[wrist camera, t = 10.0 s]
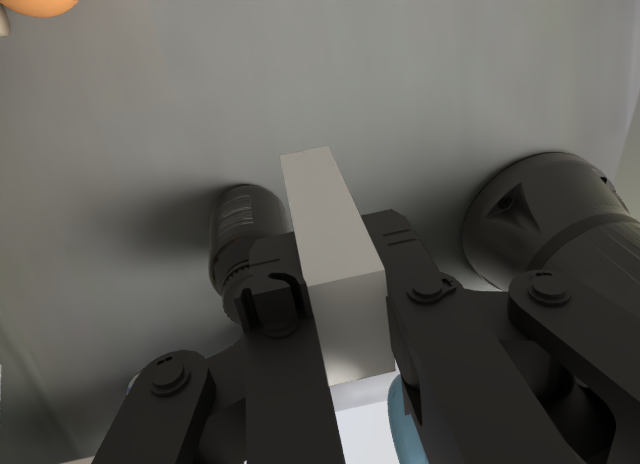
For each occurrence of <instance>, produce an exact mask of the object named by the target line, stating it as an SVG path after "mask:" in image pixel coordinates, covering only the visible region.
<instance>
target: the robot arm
mask: <svg viewBox="0 0 640 464" xmlns="http://www.w3.org/2000/svg"><path fill="white" fill-rule="evenodd" d="M280 160H281V165H282V170H283V176H284V181H285V186H286V191H287V196H288V201H289V206H290V211H291V217H292V222H293V227H294V232H289V233H284V234H280V235H275V236H270V237H266V238H261V239H257V240H256V241H255V243H254V245H253V246H252V248H251V249H250V251H249V266H250V267H249V276H250V278H248V279H246V280H245V281H243V283H242V284H241V285H240V286H239V287H238V288H237V289H236V292H235V295H234V302H235V305H236V309H237V312H238V315H239V318H240V321H241V324H242V327H243V330H244V333H245V334H244V335H243V336H242V337H241V339H240V340H238V341H237V342H236V343H235V344H234V345H232V346H231V347H229V348H227V349H226V350H224V351H222V352H220V353H218V354H216V355H214V356H212V357H210V358H208V359H206V360H205V358H204V357H203V356H202V355H200V354H198V353H197V352H195V351H187V350H181V351H175V352H170V353H168V354H165V355H163V356H161V357H159V358H157V359H155V360H154V361H153V362H151V363H150V364H149V365H147V366H146V367H145V368H144V369H143V370H142V371H141V373H140V374H139V375H138V377H137V378H136V379H135V381H134V383H133V385H132V387H131V389H130V391H129V392H128V394H127V396H126V398H125V400H124V402H123V404H122V406H121V408H120V410H119V412H118V413H117V415H116V417H115V419H114V421H113V423H112V425H111V427H110V429H109V431H108V433H107V435H106V436H105V438H104V440H103V442H102V444H101V446H100V448H99V450H98V452H97V454H96V456H95V457H94V459H93V461H92V463H91V464H244V461H246V460H247V464H346V463H345V459H344V454H343V449H342V444H341V439H340V435H339V430H338V425H337V420H336V416H335V411H334V406H333V401H332V397H331V392H330V388H329V386H332V385H336V384H341V383H345V382H349V381H354V380H358V379H363V378H367V377H371V376H376V375H380V374H384V373H389V372H393V371H396V369H395V360H396V363H397V365H398V368H399V370H400V374H399V375H398V376H397V377H396V378H395V379H394V380H393V382H392V383H391V386H390V388H389V392H388V416H389V422H390V428H391V433H392V438H393V442H394V446H395V449H396V453H397V456H398V459H399V463H400V464H640V222H638V221H637V220H636V219H634V218H633V217H632V215H631V214H630V212H629V211H628V209H627V207H626V206H625V204H624V202H623V201H622V199H621V198H620V196H619V195H618V194H617V193H616V191H615V188H614V186H613V185H612V183H611V181H610V180H609V179H608V177H607V176H606V175H605V174H604V173H603V172H602V171H601V170H599V169H598V168H596V167H595V166H593V165H592V164H590V163H589V162H587V161H586V160H584V159H582V158H580V157H578V156H575V155H572V154H567V153H545V154H540V155H536V156H533V157H529V158H527V159H524V160H522V161H520V162H518V163H516V164H514V165H512V166H510V167H509V168H507V169H505V170H504V171H502V172H501V173H500V174H498V175H497V176H496V177H495V178H494V179H492V180H491V181H490V182H489V183H488V184H487V185H486V186H485V187H484V189H483V190H482V191H481V192H480V193H479V195H478V196H477V197H476V199H475V200H474V202H473V204H472V205H471V207H470V209H469V211H468V213H467V216H466V218H465V221H464V225H463V231H462V245H463V250H464V253H465V256H466V258H467V260H468V261H469V263H470V264H471V265H472V267H473V268H474V269H475V271H476V272H477V273H478V275H479V276H480V277H481V278H482V279H483V280H484V281H486V282H487V283H488V284H490V285H492V286H494V287H496V288H497V289H500V290H503V291H504V292H500V291H473V290H469V289H464V288H463V286H462V285H461V284H460V283H459V282H458V281H457V280H456V279H455V278H454V277H452V276H450V275H447V274H445V273H443V272H440V271H439V270H438V268H437V267H436V265H435V263H434V262H433V260H432V259H431V257H430V255H429V254H428V252H427V251H426V249H425V247H424V246H423V244H422V243H421V241H420V240H419V239H418V236H417V235H416V233H415V232H414V231H413V229H412V227H411V225H410V224H409V222H408V220H407V219H406V217H404V216H403V215H401V214H399V213H397V212H396V211H394V210H392V209H390V210H385V211H381V212H376V213H371V214H367V215H362V216H360V214H359V212H358V210H357V208H356V205H355V203H354V201H353V199H352V197H351V195H350V192H349V190H348V188H347V186H346V184H345V182H344V179H343V177H342V175H341V173H340V171H339V168H338V166H337V164H336V162H335V160H334V158H333V155H332V153H331V151H330V149H329V147H328V146H324V147H319V148H315V149H310V150H305V151H300V152H295V153H290V154H286V155H281V156H280ZM394 357H395V360H394Z"/></svg>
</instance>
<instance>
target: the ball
mask: <svg viewBox="0 0 640 464" xmlns="http://www.w3.org/2000/svg"><path fill="white" fill-rule="evenodd" d="M78 1H79V0H0V3H1V4H3V5H4V6H6V7H8V8H9V9H11V10H13V11H15V12H18V13H20V14H24V15H27V16H31V17H42V18H45V17H53V16H57V15H60V14H62V13H65V12H66V11H68V10H69V9H71V8H72V7H73V6H74V5H75V4H76V3H77V2H78Z"/></svg>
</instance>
